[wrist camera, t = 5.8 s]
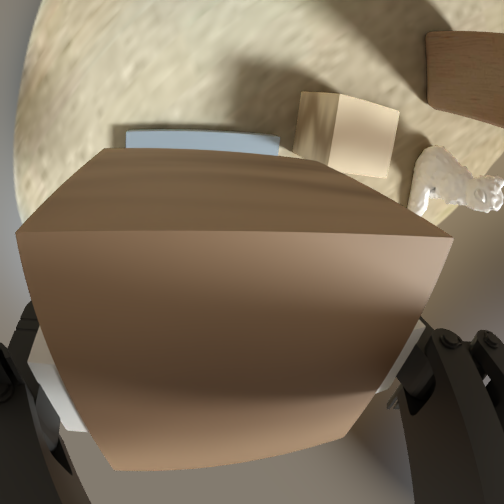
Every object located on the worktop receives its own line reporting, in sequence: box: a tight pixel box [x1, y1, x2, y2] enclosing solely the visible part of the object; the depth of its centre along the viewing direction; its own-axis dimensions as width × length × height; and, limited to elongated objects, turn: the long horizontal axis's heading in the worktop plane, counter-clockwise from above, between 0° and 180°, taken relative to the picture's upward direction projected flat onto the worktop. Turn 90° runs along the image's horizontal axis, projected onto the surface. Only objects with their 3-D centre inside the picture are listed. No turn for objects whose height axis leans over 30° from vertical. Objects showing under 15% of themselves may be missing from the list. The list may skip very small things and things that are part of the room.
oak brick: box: [292, 91, 400, 179], centre depth 24 cm, size 6×6×7 cm
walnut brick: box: [15, 148, 454, 471], centre depth 9 cm, size 8×8×7 cm
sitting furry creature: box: [407, 145, 504, 217], centre depth 28 cm, size 10×9×12 cm
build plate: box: [126, 129, 280, 156], centre depth 27 cm, size 13×13×2 cm
